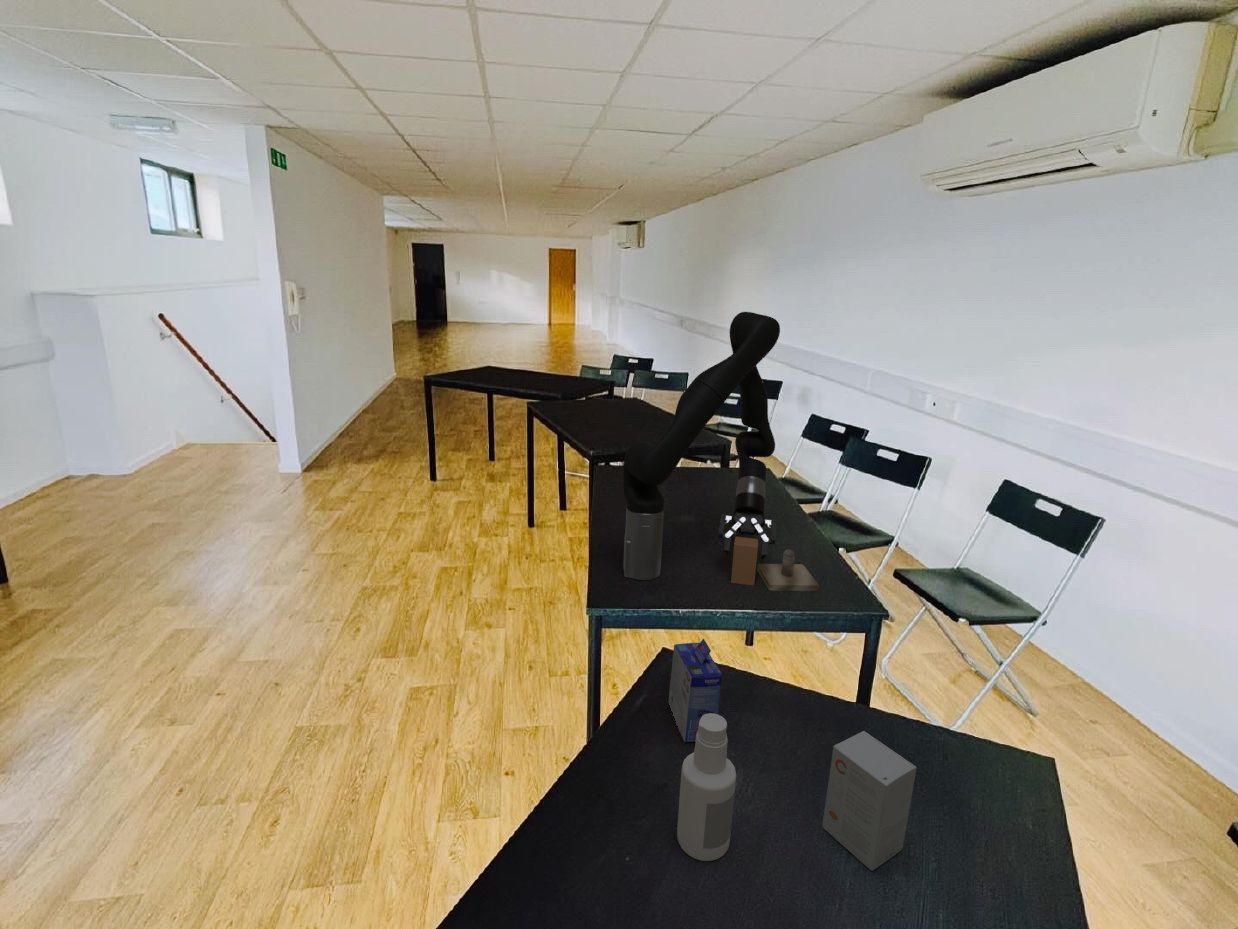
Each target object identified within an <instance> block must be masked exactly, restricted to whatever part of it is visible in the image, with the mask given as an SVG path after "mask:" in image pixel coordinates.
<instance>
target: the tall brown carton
mask: <svg viewBox="0 0 1238 929" xmlns="http://www.w3.org/2000/svg"><path fill="white" fill-rule="evenodd" d="M733 543H734V546H733V554H732V555H733V556H732V564H731V566H732V567H731V577H730V578H731V579H730V583H731V584H738V585H739V584H740V585H747V586H755V583H756V581H755V580H756V571H757V562H758V561H757V560H758V551H759V550H758V549H759V538H752V537H746V536H745V537H744V536H743V537H742V536H737V535H736V536H734V542H733Z"/></svg>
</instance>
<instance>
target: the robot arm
mask: <svg viewBox="0 0 1238 929" xmlns="http://www.w3.org/2000/svg"><path fill="white" fill-rule="evenodd" d="M780 333H781V326H780V323H779V321H778V320H777V319H776V318H774V317H772V316H769V315H766V314H760V313H756V312H752V311H751V312H750V311H741V312H739V313H737V314H736V315H735V316H734V317H733V319H732V320H731V323H730V326H729V341H730V345H731V346H730V347H731V352H732V354H731V355H729V356H728V357H727V358H725V359H723V360H722V361H720V362H718V363H716V364H714V365H712V366H711V367H708V368H706V369H705V370H704V371H702V372H701V373H700V374H698V375H697V376H696V377H695V378H694V379H693V380H692V382H691V383H690V384H689V385H688V386H687V387H686V389H685V390H684V391H683V393H682V394H681V396H680V398H679V400H678V402H677V405H676V408H675V411H674V412H675V413H674V417H673V420H672V423H671V425H670V427H669V428H668V430H667V431H666V433H664V434H663V436H662V437H661V438H660V439H659V441H657V443H656V444H652V443H649V442H647V441H637V442H635V443H633V444H632V445H630V446H629V448H627V451H626V453H625V455H624V458H623V495H624V498H625V502H626V503H625V504H626V508H625V532H624V534H623V535H624V540H623V542H624V543H623V561H622V562H623V565H622V566H623V567H622V568H623V575H624V578H631V579H633V580H637V581H638V580H639V581H648V580H649V581H651V580H654V579H657V578H658V577H659V576H660V575H661V569H662V568H661V567H662V548H663V531H664V530H663V529H664V515H665V514H664V513H665V511H664V510H665V499H664V495H662V492H660V489H659V485H661V484H662V483H664V482H665V481H667V479H669V477H670V476H671V475H672V473H673V472H674V470H675V469H676V467H678V465H679V463H680V461H681V460H682V458H683V457H684V455H685V453H686V452H687V450H688V449H689V448H690V446H691V445H692V444H693V442H694V441H695V439H696V438H697V436H699V435H700V433H701V432H702V430H703V429H704V428H705V427H706V425H707V424H708V423H709V421H711V419H712V418H713V417H714V416H715V415H716V413H717V412H718V411H719V410H720V409H721V407H722V406H723V405H724V404H725V402H726V401H727V400H728V398H729V397H730V395H731V394H732V393H733V392H734V391H735V390H736V388H737V387H739V397H740V421H741V423H742V425H743V426H744V427H747V428H750V429H755V431H754V430H751V431H750V430H743V431H741V432H739V433H737V435H736V437H735V442H734V446H735V449H736V454H737V458H738V465H739V466H738V467H739V468H738V480H737V485H736V490H735V500H734V509H733V514H732V516H731V515H727V514H726V513H724V512H723V513H721V515H720V521H719V527H718V531H717V532H718V534H717V535H718V536H717V537H718V538H719V539H722V540H723V541H724V544H723V551H724V553H725V555H726V556H730V550H731V540H732V539H733V538H735V536H736V537H737V535H738V534H739V533H740V535H748V536H752V537H753V536H756V537H757V539H758V540H759V541H760V542H761V543H762V544H761V553H760V556H761V557H760V559H761V560H765V558H767V556H768V553H769V552H768V551H769V550H768V548H769V545H775V544H776V542H777V519H776V518H772V519H765V505H766V504H765V503H766V479H767V478H766V477H767V466H766V463H765V462H763V461H761V460H759V459H756V458H769V457H771V456H772V455H773V454H774V452H775V450H776V441H775V438H774V434H773V432H772V431H773V430H772V428H771V425H770V421H769V406H768V405H769V404H768V403H769V398H768V392H767V389H766V388H767V387H766V386H765V384H764V381H763V379H762V377H761V375H760V372H759V369H758V366H757V365H758V364H759V363H760V362H761V361H762V360H763V359H764V358H765V357H766V356H767V355H768V354H769V353H770V352H771V351H772V350H773V348H774V347H775V345H776V344H777V342H778V340H779V337H780ZM756 430H757V431H756ZM729 522H731V523H732V524H733V526H732V527H731V528H730V529H729V530H728V531H727V532H725V528H726V525H728V524H729ZM765 526H767V528H768V529H769V530H770V537H767V535H766V533H765V531H764V530H763V528H764V527H765Z"/></svg>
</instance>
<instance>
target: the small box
mask: <svg viewBox="0 0 1238 929" xmlns="http://www.w3.org/2000/svg"><path fill="white" fill-rule="evenodd" d="M828 774H829V776H828V784H827V789H826V795H825V797H826V798H825V801H824V802H825V803H824V810H823V817H822V823H821V828H822V829H823V830H825V831H826V832H827V833H828V834H829V835H830V836H832V838H833V839H835V840H836V841H837V842H838V843H839V844H840V845H841V846H842V847H844V848H845V849H846V850H847V851H848V852H850V854H852V855H853V856H854V857H855V858H856V859H857V860H858V861H859V862H861V863H862V864H863V865H864V866H865V867H866V868H867V869H869V871H871V872H873V871H874V870H876V869H877V868H879V867H880V866H882V865H883V864H885V863H886V862H888V861H889V860H890V859H892V858H893V857H894V856H896V855H897V854H898V853H900V852H901V851H902V850H903V847H904V842H905V837H906V832H907V825H908V819H909V814H910V808H911V802H912V796H913V791H914V785H915V780H916V779H915V778H916V774H917V766H916V765H914V764H913V763H911V762H910V761H909V760H907V759H905V758H904V757H903V756H901V755H900V754H898V753H897V752H895V751H894V750H893V749H891V748H889V747H888V746H887V745H885V744H883V743H882V742H881V741H880V740H878V739H877V738H875V737H873V736H872V735H870V734H869V733H868V732H866V731H865V730H862V731H861V732H858V733H857V734H855V735H853V736H851V737H848V738H847V739H845V740H843V741H841V742H839V743H836V744H833V748H832V754H831V761H830V769H829V773H828Z"/></svg>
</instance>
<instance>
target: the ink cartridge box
mask: <svg viewBox="0 0 1238 929" xmlns="http://www.w3.org/2000/svg"><path fill="white" fill-rule="evenodd" d="M672 652H673V655H672V662H671V664H672V665H671V672H670V673H671V674H670V681H669V682H670V683H669V690H668V691H669V692H668V702H667V703H669V705H670V708H671V711H672V712H673V715H672V717H673V716H674V718H675V720H674V722H675V721H676V722H675V724H676V727H677V726H678V727H677V729H678V731H679V733H680V736H681V738H682V740H683V742H684V743H694V742H695V743H696V734H697V732H698V729H699V721H700V719H701V717H702V716H703V715H705V714H709V713H712V714H718V715H719V707H720V697H721V688H722V687H721V686H722V679H723V673H722V671H721V670H720V668H719V667H718V665H717V663H716V662H715V660H714V659H713V658H712V656H711V654H710V653H711V652H712V650H711V648H710V647H709V645H708V643H707V642H706V640H705V639H704V638H702V639H701V641H700V642H686V643H676V644H674V645H673V651H672ZM671 711H670V712H671ZM674 718H673V719H674Z"/></svg>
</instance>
